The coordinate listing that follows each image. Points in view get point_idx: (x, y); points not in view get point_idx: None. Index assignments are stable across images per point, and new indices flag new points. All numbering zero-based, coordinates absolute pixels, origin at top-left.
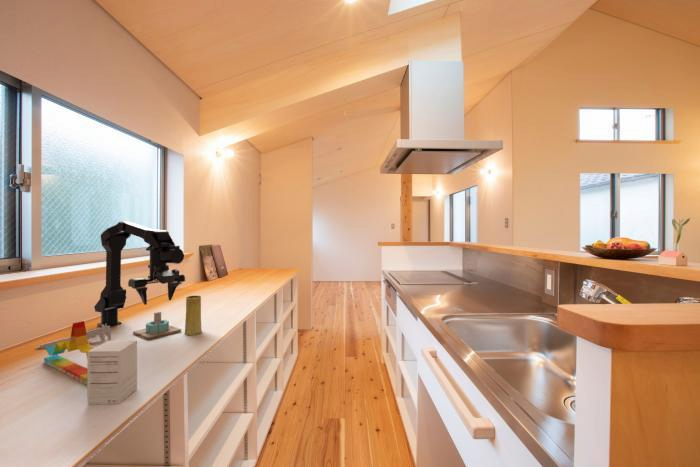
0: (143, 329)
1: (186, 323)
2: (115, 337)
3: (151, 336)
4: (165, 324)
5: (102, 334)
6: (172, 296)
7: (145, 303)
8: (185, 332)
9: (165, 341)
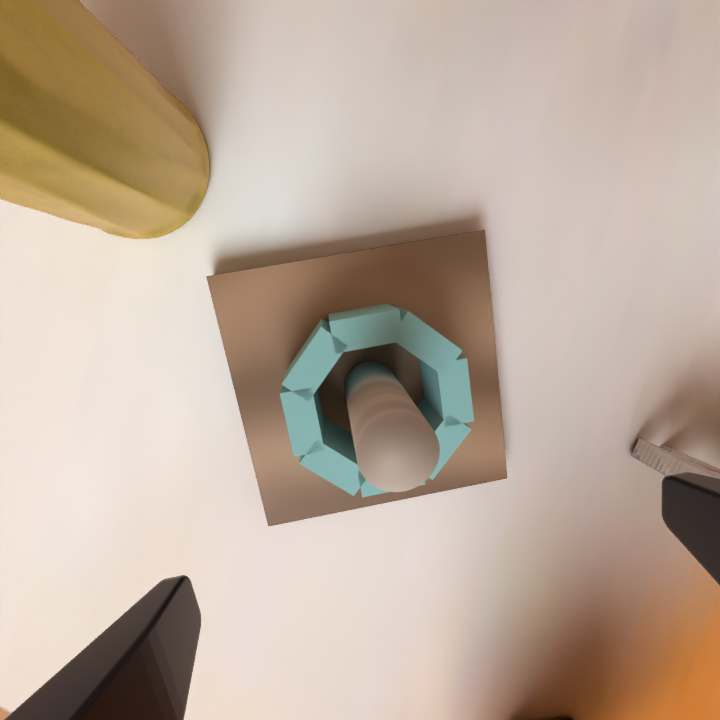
0: (440, 479)
1: (158, 112)
2: (597, 467)
3: (459, 245)
4: (332, 321)
5: (710, 468)
6: (90, 645)
7: (708, 478)
8: (202, 154)
9: (395, 97)
